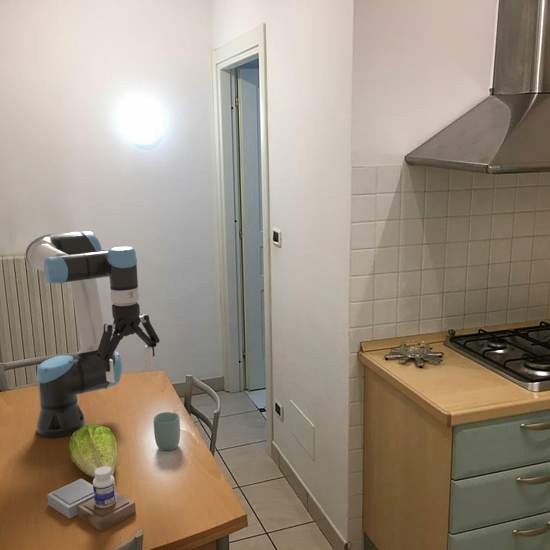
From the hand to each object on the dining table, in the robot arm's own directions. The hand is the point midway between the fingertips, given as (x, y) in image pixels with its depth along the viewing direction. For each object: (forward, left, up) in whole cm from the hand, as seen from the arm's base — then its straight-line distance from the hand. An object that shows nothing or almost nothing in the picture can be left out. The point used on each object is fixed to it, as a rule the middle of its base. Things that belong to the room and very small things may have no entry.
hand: (130, 374), depth 180 cm
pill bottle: (+17, -22, -24) cm, 36 cm away
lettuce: (-5, -10, -27) cm, 29 cm away
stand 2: (+17, -22, -27) cm, 39 cm away
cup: (+1, +11, -27) cm, 29 cm away
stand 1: (+6, -24, -27) cm, 36 cm away
